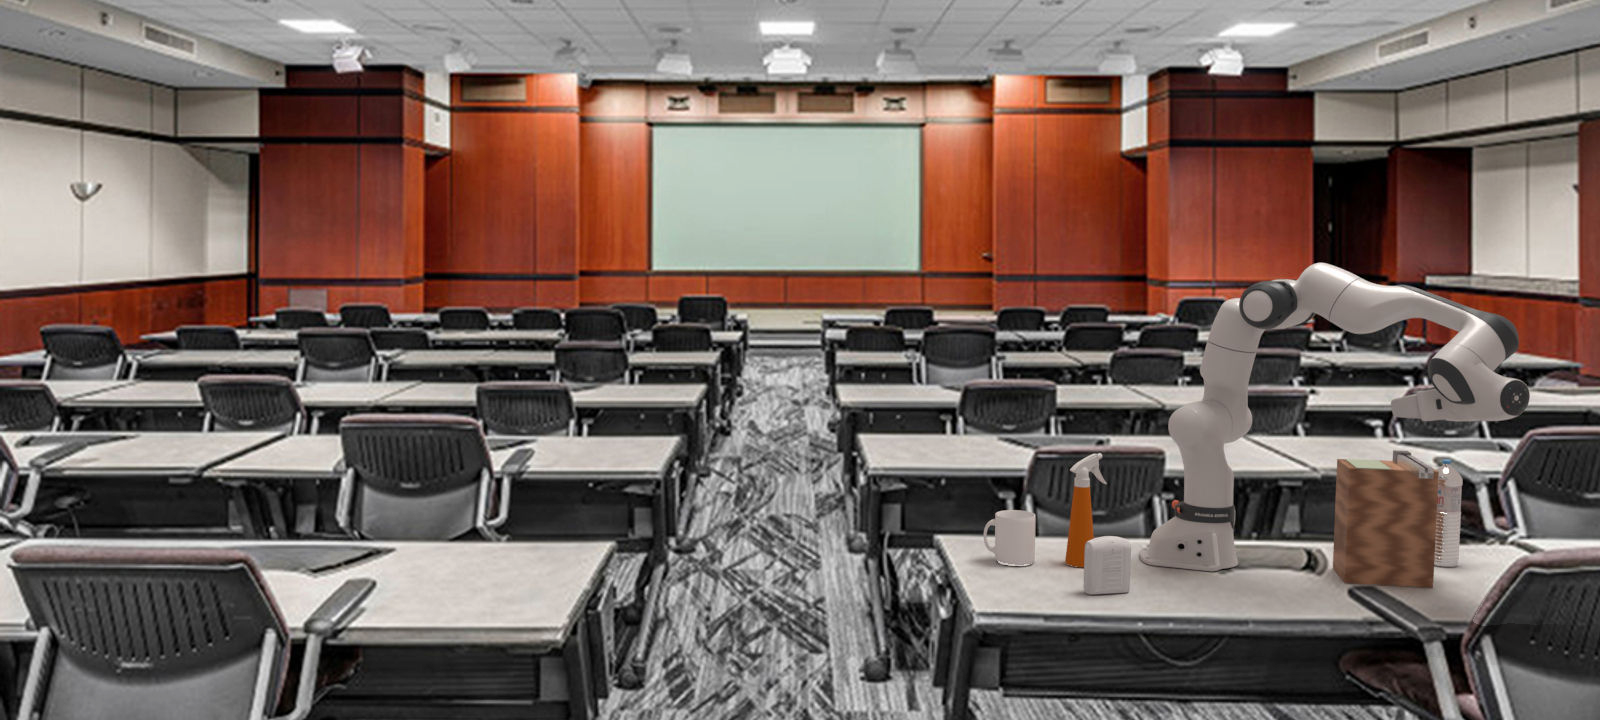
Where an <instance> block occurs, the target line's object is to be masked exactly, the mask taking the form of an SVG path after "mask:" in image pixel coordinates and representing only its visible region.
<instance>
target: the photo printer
mask: <svg viewBox="0 0 1600 720" xmlns="http://www.w3.org/2000/svg"><path fill="white" fill-rule="evenodd" d="M1131 555H1132V547H1131V543H1130V540H1128V539H1127V538H1123V537H1120V536H1114V535H1104V536H1099V537H1094V539H1092V540H1089V541H1087V542H1086V544H1085V556H1084V568H1083V592H1084V593H1085V594H1086V595H1107V594H1122V593H1129V592H1130V589H1131V562H1132V560H1131V559H1132V556H1131Z"/></svg>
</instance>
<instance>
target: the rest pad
mask: <svg viewBox="0 0 1600 720" xmlns="http://www.w3.org/2000/svg"><path fill="white" fill-rule="evenodd" d="M1344 459H1345V460H1346V461H1347V462H1349V463H1350V464H1351V465H1353V466H1354V467H1355V468H1357V469H1382V470H1391V468H1389V467H1388V466H1386V465H1385V464H1383V463H1382V462H1380V461H1379V459H1378V460H1377V459H1358V458H1357V459H1354V458H1352V459H1351V458H1344Z"/></svg>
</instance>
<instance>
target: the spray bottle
mask: <svg viewBox="0 0 1600 720" xmlns="http://www.w3.org/2000/svg"><path fill="white" fill-rule="evenodd" d="M1101 459H1103V454H1102V453H1101V452H1098V453H1092V454H1090V455H1088V456H1086V457H1084V458H1083V459H1080V460H1078V462H1076V463H1075V464H1074V465H1073V466H1072V467H1071V468H1070V469H1069V471H1070V472H1072V473H1074V474H1075V477H1074V480H1073V481H1074V484H1073V492H1072V500H1071V501H1072V502H1071V509H1070V517H1069V524H1068V525H1069V526H1068V533H1067V534H1068V535H1067V536H1068V537H1067V542H1066V543H1067V544H1066V552H1065V561H1064V562H1065V564H1066V563H1067V564H1069V565H1072V566H1077V567H1084V556H1085V544H1086V542H1087V541H1089V540H1092V539H1094V538H1095V535H1094V534H1095V533H1094V525H1093V524H1094V523H1093V511H1092V508H1093V507H1092V497H1091V495H1092V494H1091V484H1090V482H1091V479H1090V477H1089V474H1090V473H1092V474H1093V475H1094V476H1095V477H1096V479H1097V480H1098V481H1100V482H1101V483H1102V484H1104V485H1107V484H1108V483H1107V482H1106V480H1105V479H1104V477H1103V475H1102V472H1101V471H1100V468H1099V466H1100V462H1099V460H1101ZM1067 564H1066V565H1067ZM1069 565H1068V566H1069Z"/></svg>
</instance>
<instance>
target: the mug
mask: <svg viewBox="0 0 1600 720" xmlns="http://www.w3.org/2000/svg"><path fill="white" fill-rule="evenodd" d="M994 516H995V517H994V518H993V519H991V520H989V521H988V522H987V523H986V524H985V526H984V529H983V543H984V546H985V548H986V549H987V550H988V551H989V552H992V553H993V554H994V560H995V559H996V560H998V561H1000V562H1003V563H1008V564H1015V565H1024V564H1031V563H1033V562H1034V563H1035V559H1036V513H1034V512H1030V511H1027V510H1020V509H1019V510H1017V509H1007V510H1000V511H996V512H995V513H994ZM990 526H995V527H994V528H995V529H994V546H993V547H992V546H990V545H989V543H988V539H987V538H988V537H987V535H988V534H987V533H988V530H989V528H990ZM1034 563H1033V564H1034Z"/></svg>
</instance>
